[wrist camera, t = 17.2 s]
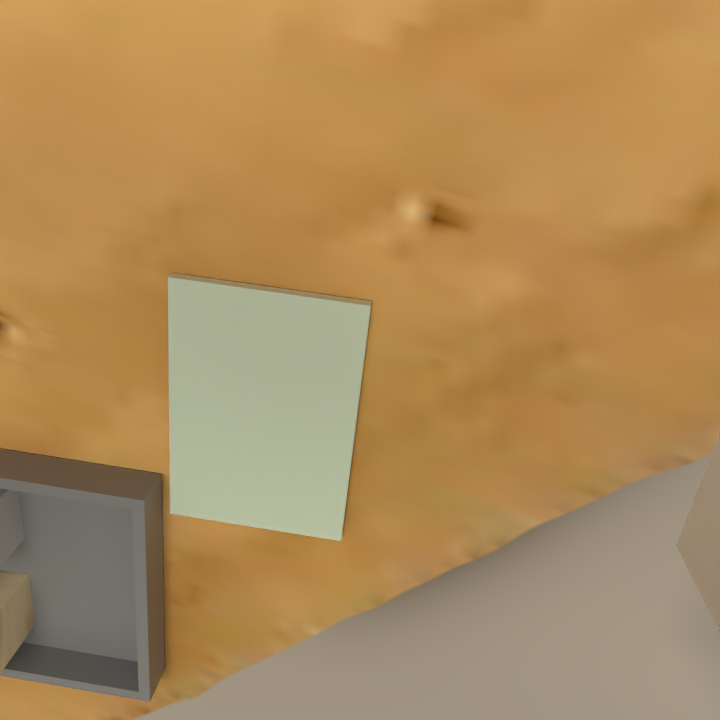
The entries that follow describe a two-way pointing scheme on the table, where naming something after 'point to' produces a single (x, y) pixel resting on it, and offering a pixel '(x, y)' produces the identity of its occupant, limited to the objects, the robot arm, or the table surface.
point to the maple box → (14, 613)
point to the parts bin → (89, 574)
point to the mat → (263, 403)
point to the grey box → (10, 523)
